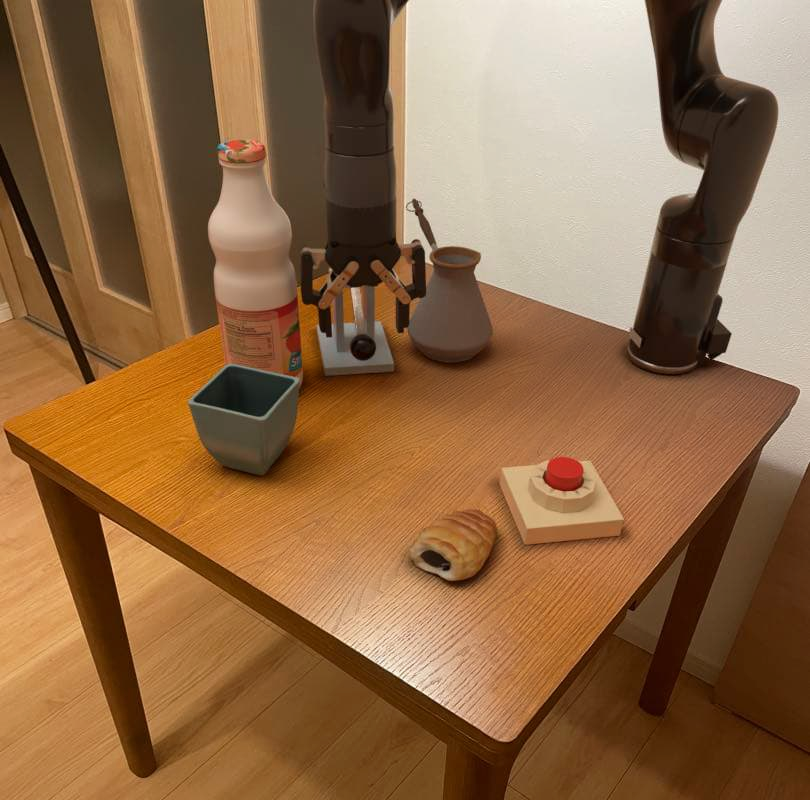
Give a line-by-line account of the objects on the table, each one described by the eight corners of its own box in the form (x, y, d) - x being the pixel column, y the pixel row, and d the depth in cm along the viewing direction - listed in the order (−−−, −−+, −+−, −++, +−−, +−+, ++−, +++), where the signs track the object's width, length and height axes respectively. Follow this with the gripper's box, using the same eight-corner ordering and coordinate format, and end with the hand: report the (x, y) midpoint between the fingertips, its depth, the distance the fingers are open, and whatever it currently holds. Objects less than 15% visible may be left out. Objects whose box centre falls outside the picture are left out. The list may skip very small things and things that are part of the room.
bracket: (394, 371, 104) (395, 276, 95) (324, 376, 102) (320, 280, 94) (380, 328, 112) (381, 238, 104) (316, 332, 111) (311, 241, 103)
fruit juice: (219, 373, 102) (184, 137, 84) (289, 359, 105) (271, 128, 87) (240, 410, 96) (207, 163, 77) (314, 394, 99) (299, 153, 80)
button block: (586, 476, 88) (593, 446, 85) (620, 535, 80) (628, 505, 78) (498, 483, 86) (502, 453, 84) (524, 545, 79) (529, 514, 76)
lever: (376, 365, 98) (378, 350, 95) (350, 366, 97) (351, 352, 94) (363, 270, 102) (364, 253, 99) (338, 272, 102) (338, 255, 99)
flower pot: (306, 446, 91) (301, 376, 85) (271, 491, 84) (264, 419, 78) (237, 430, 93) (227, 361, 87) (198, 473, 86) (185, 402, 80)
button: (574, 469, 82) (576, 455, 81) (585, 490, 80) (588, 476, 79) (540, 472, 82) (542, 458, 81) (551, 493, 79) (553, 479, 78)
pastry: (455, 513, 82) (458, 484, 80) (512, 539, 80) (517, 510, 77) (403, 563, 77) (404, 534, 74) (463, 594, 74) (466, 564, 71)
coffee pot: (505, 362, 106) (518, 251, 96) (424, 375, 103) (429, 262, 93) (445, 295, 121) (451, 193, 111) (373, 305, 118) (373, 200, 108)
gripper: (295, 207, 81) (306, 352, 92) (433, 201, 82) (428, 343, 93) (291, 182, 86) (302, 321, 97) (421, 177, 88) (418, 314, 99)
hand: (364, 332), depth 95 cm, fingers open, 8 cm apart
